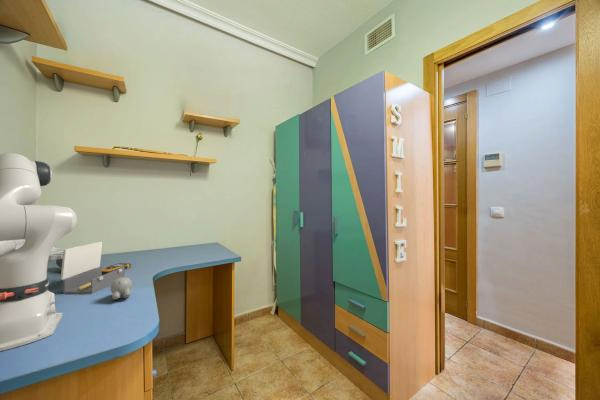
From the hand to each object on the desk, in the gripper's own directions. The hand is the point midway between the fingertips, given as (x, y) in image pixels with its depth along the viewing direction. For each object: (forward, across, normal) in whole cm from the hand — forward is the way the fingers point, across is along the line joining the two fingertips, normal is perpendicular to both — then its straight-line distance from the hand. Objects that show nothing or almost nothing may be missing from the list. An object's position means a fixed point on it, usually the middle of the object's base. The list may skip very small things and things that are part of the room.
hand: (64, 256), depth 110 cm
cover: (+9, 0, +1) cm, 9 cm away
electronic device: (+6, +23, +14) cm, 28 cm away
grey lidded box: (+15, 0, +14) cm, 20 cm away
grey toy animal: (+36, -14, +14) cm, 41 cm away
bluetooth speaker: (-14, +24, +14) cm, 31 cm away
